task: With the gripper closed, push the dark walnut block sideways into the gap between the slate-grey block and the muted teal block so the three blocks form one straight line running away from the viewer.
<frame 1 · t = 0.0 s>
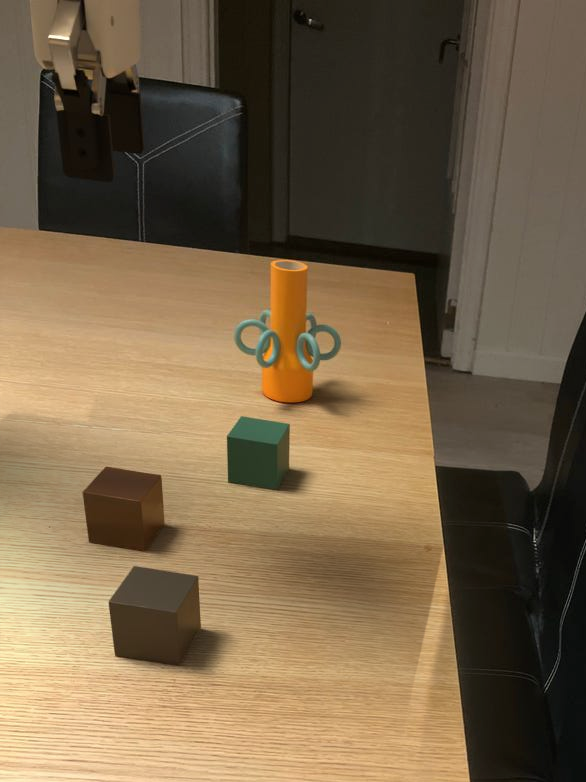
hand: (106, 164, 67), 30 cm above the table, tool pointing down, fingers open, 9 cm apart
teal block: (259, 474, 96), on the table
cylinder: (287, 394, 113), on the table
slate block: (159, 641, 73), on the table
walnut block: (127, 532, 84), on the table
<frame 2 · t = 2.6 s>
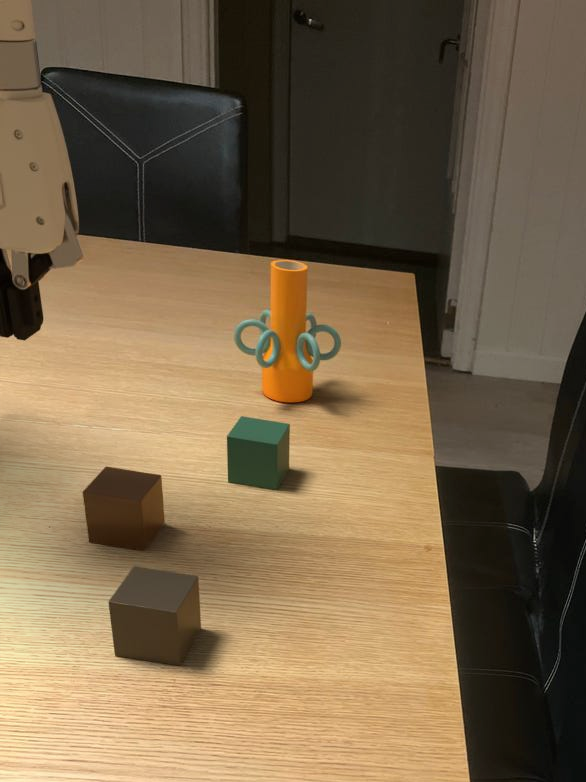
hand: (20, 332, 74), 17 cm above the table, tool pointing down, fingers closed
nothing on the table moved.
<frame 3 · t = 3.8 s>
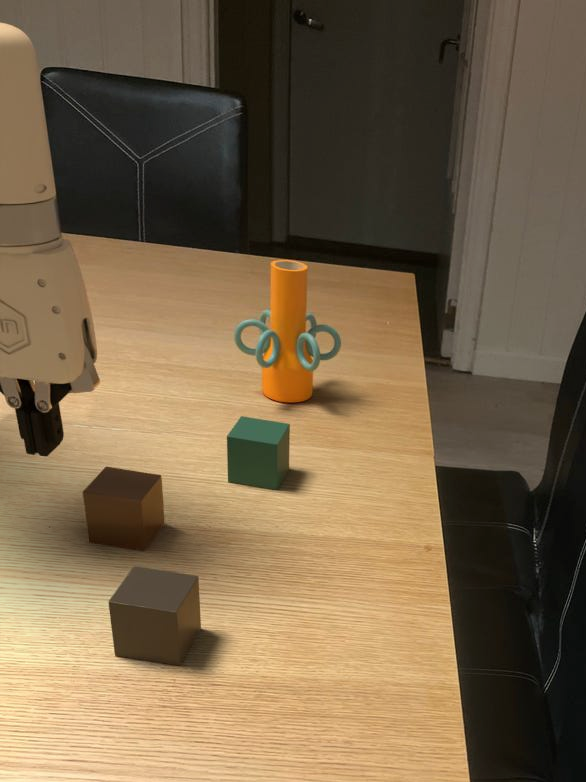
hand: (44, 448, 80), 7 cm above the table, tool pointing down, fingers closed
nothing on the table moved.
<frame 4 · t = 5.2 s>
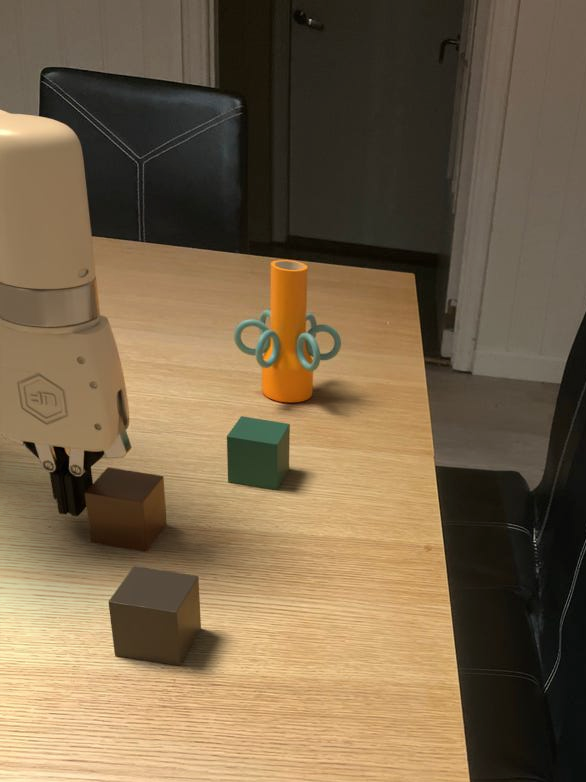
hand: (75, 507, 83), 2 cm above the table, tool pointing down, fingers closed
walnut block: (129, 533, 84), on the table, touching gripper
everything else where it was.
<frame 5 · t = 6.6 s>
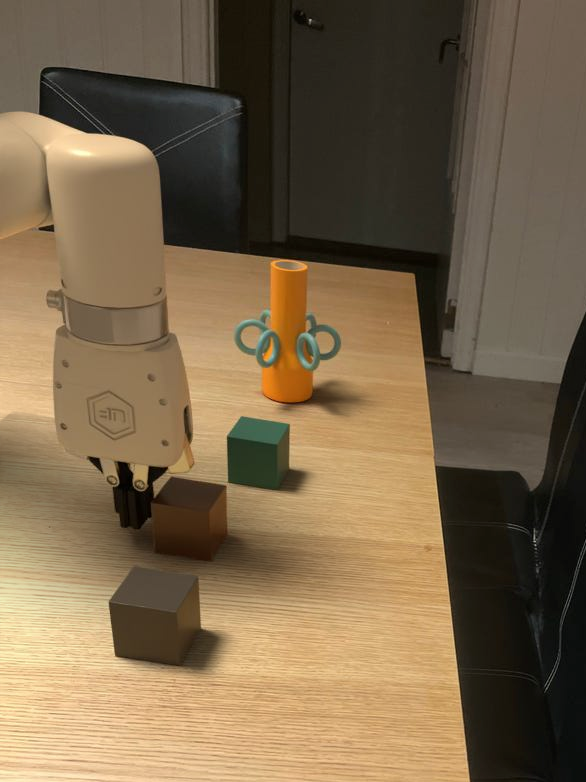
hand: (136, 521, 84), 1 cm above the table, tool pointing down, fingers closed
walnut block: (192, 542, 85), on the table, touching gripper
everything else where it was.
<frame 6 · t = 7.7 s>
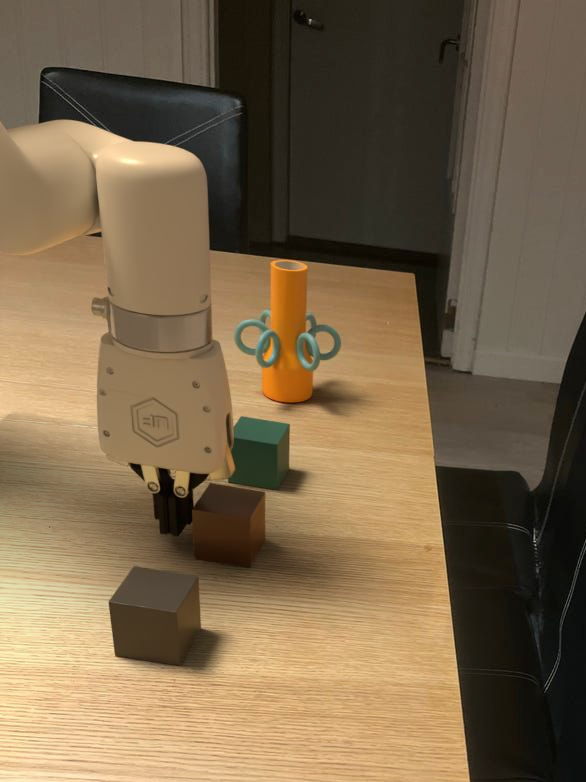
hand: (175, 527, 84), 1 cm above the table, tool pointing down, fingers closed
walnut block: (230, 549, 85), on the table, touching gripper
everything else where it was.
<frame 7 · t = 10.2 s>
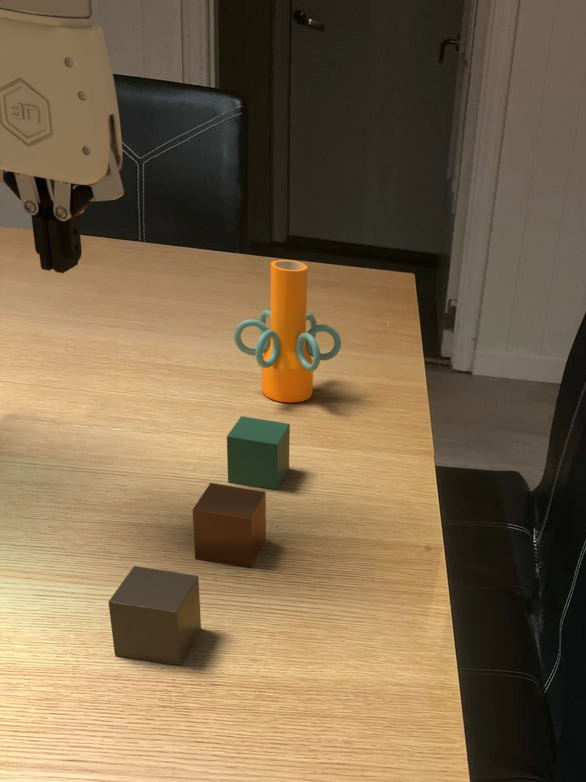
hand: (60, 266, 75), 21 cm above the table, tool pointing down, fingers closed
walnut block: (231, 549, 85), on the table
everything else where it was.
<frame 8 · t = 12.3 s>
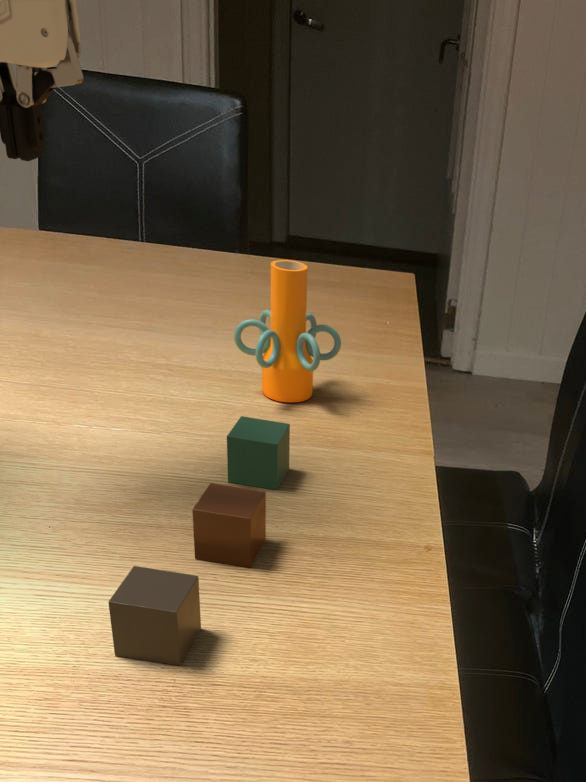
hand: (25, 156, 79), 27 cm above the table, tool pointing down, fingers closed
nothing on the table moved.
at the end: walnut block 1.3 cm from the target spot on the table beside the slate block, on the table; teal block moved 0.0 cm from its start; walnut block tilted 0° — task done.
